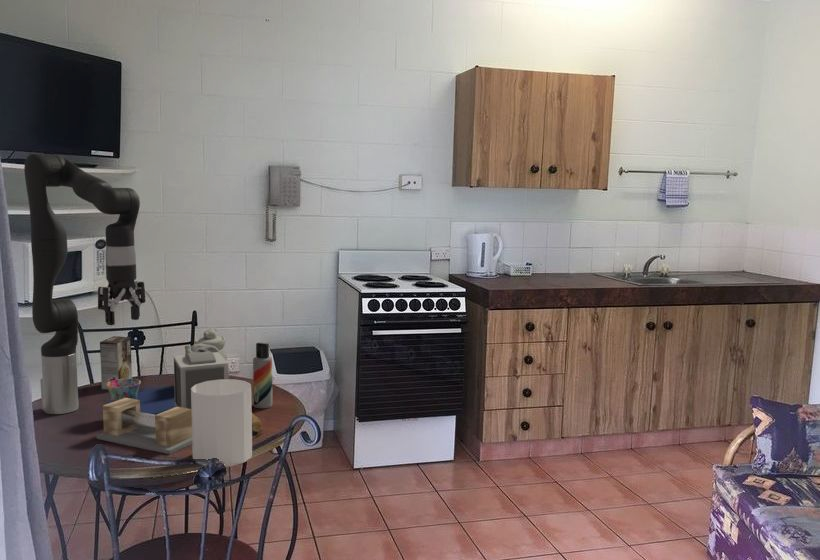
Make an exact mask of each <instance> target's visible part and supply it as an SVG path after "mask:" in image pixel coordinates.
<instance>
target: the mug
mask: <svg viewBox="0 0 820 560" xmlns="http://www.w3.org/2000/svg"><path fill="white" fill-rule="evenodd" d="M141 383H142V381H141V380H140V379H139V378H132V379H131V378H126V379H117V380H113V381H110V382H108V383H106V387H107V388H108V390H107V391H108V393H109V396H110V401H111V402H110V403H112V402H115V401H118V400H121V399H124V398H131V399H136V400H138V399H137V398H138V393H139V389H140V385H141ZM122 413H123V411H121V414H122Z"/></svg>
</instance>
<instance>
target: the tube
mask: <svg viewBox="0 0 820 560" xmlns="http://www.w3.org/2000/svg"><path fill="white" fill-rule="evenodd" d="M155 415H156V414H152V413H147V412H142V411H140V412H137V411H132V410H125V411H124V412H123V413H122V414H121V420H122V424H124V425H129V426H134V427H139V428H144V429H149V430H154V431H155Z"/></svg>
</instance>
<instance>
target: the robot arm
mask: <svg viewBox="0 0 820 560" xmlns="http://www.w3.org/2000/svg"><path fill="white" fill-rule="evenodd" d="M23 167H24V168H23V169H24V170H23V171H24V180H25V187H26V193H27V198H28V206H29V208H28V209H29V218H30V220H29V221H30V246H31V257H32V259H31V260H32V276H33V277H32V278H33V280H32V281H33V283H32V286H33V287H32V289H33V290H32V305H31V306H32V308H31V309H32V310H31V311H32V313H31V314H32V315H31V316H32V322H33V326H34V328H35V330H36V331H38V333H40V334H48V333H49V334H50V333H55V334H54V335H53V336H52V337H51V338H50V339H49V340H48V341H46V342H44V343H43V344H42V345H41V347H40V357H41V372H42V373H41V374H42V378H41V379H40V395H41V396H40V398H41V411H43V412H44V413H45V414H47V415H62V414H69V413H72V412H75V411H78V409H79V388H78V387H79V386H78V366H77V365H78V364H77V346H78V340H79V338H78V337H79V335H78V333H79V331H78V330H79V315H78V309H77V306H76V304H75V303H74V301H72V300H71V299H70V298H59V299H53V291H54V285H55V282H56V279H57V278H58V275H59V274H60V272H61V270H62V268H63V267H64V264H65V263H66V260H67V257H68V236H67V231H66V229H65V226H64V225H63V224H62V222H61V221H60V219H59V217H58V216H57V215H56V214H55V212H54V210H53V209H52V207H51V205H50V203H49V199H48V194H47V188H48V187H52V188H58V187H68V188H71V189H72V191H73V193H74V194H75V195H76V196H77V197H78V198H80V199H81V200H84V201H86V202H88V203H90V204H92V205H93V206H94V207H95V208H96V209H97V210H98V211H99V212H100V213H103V214H104V215H113V216H114V215H119V216H118V219H117V221H116V222H113V223H111V224H108V225H107V226H106V227H105V256H104V257H105V276H106V277H105V278H106V281H107V282H108V285H107V286H98V288H97V310H101V311H104V315H105V317H104V318H105V323H106V325H107V326H114V325H116V323H115V321H116V320H115V311H114V310H115V308H116V306H117V305H118V304H119V303H120V302H123V301H128V303H129V304H130V318H131V320H133V321H137V320H139V319H140V316H141V315H140V310H141V309H140V307H141V305H142V304H145V303H146V291H145V282H144V281H137V280H136V279H137V257H136V255H137V254H136V248H135V227H136V224H137V221H138V220H137V219H138V216H139V212H140V211H139V210H140V207H141V201H140V196H139V195H138V192H137V191H136V190H135V189H133V188H130V187H113V186H112V185H111V184H110V183H109V182H107V181H106V180H105V179H101V178H99V177H97V176H95V175H93V174H90V173H88V172H86V171H84V170H83V169H82V168H80V167H79V166H78V165H76V164H75V163H73V162H72V161H71V160H70V159H68V158H66V157H64V156H63V155H60V154H51V153H30V154H29V155H27V157H26V158H25V161H24V166H23Z"/></svg>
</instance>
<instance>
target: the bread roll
mask: <svg viewBox="0 0 820 560" xmlns="http://www.w3.org/2000/svg"><path fill="white" fill-rule="evenodd" d="M262 433H263V422H262V421H261V420H260V418H259V417H258V416H256V415H255V413H253V412H252V440H253V439H254V438H257V437H258V436H260V435H261V434H262Z"/></svg>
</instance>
